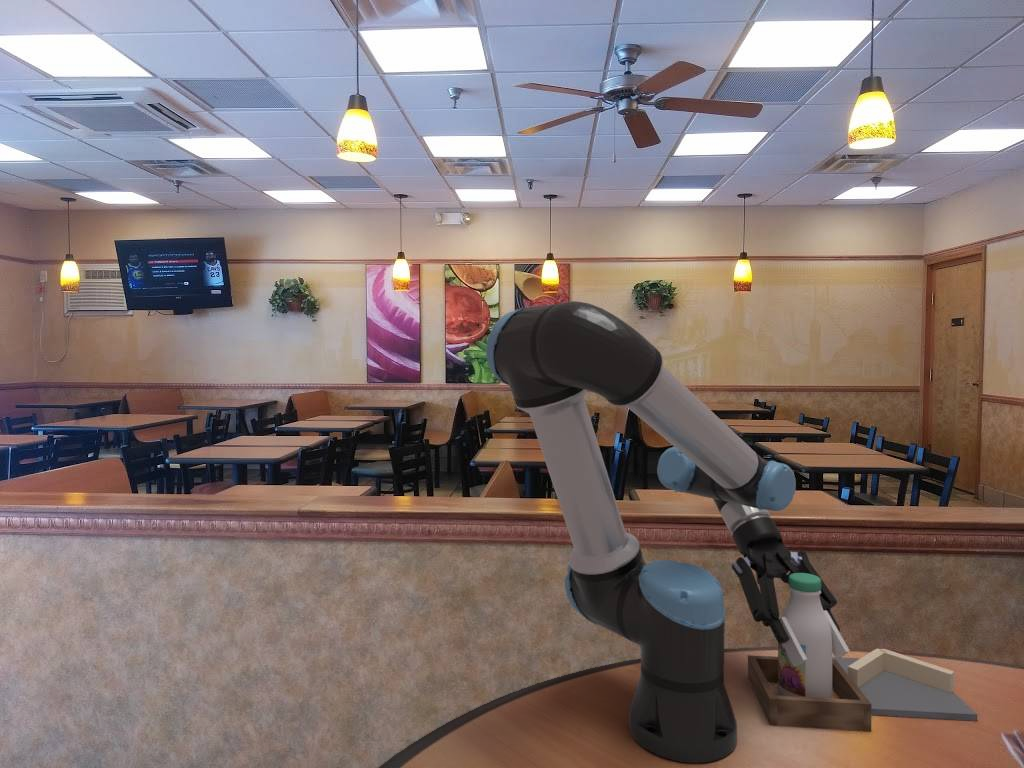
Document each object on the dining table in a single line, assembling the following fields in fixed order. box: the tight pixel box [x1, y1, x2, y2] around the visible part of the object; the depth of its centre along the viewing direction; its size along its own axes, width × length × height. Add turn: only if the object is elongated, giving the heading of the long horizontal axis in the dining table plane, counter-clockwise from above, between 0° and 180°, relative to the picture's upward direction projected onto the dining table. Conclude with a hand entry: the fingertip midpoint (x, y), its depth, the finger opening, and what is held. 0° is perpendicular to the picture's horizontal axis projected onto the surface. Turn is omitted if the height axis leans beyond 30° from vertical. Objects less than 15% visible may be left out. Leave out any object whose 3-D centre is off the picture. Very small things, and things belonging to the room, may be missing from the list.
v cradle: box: [832, 647, 978, 722], centre depth 104 cm, size 16×17×4 cm
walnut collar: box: [747, 655, 872, 732], centre depth 100 cm, size 14×14×4 cm
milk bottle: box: [777, 573, 833, 699], centre depth 100 cm, size 8×8×20 cm
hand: (821, 658), depth 97 cm, fingers closed on milk bottle, 7 cm apart
